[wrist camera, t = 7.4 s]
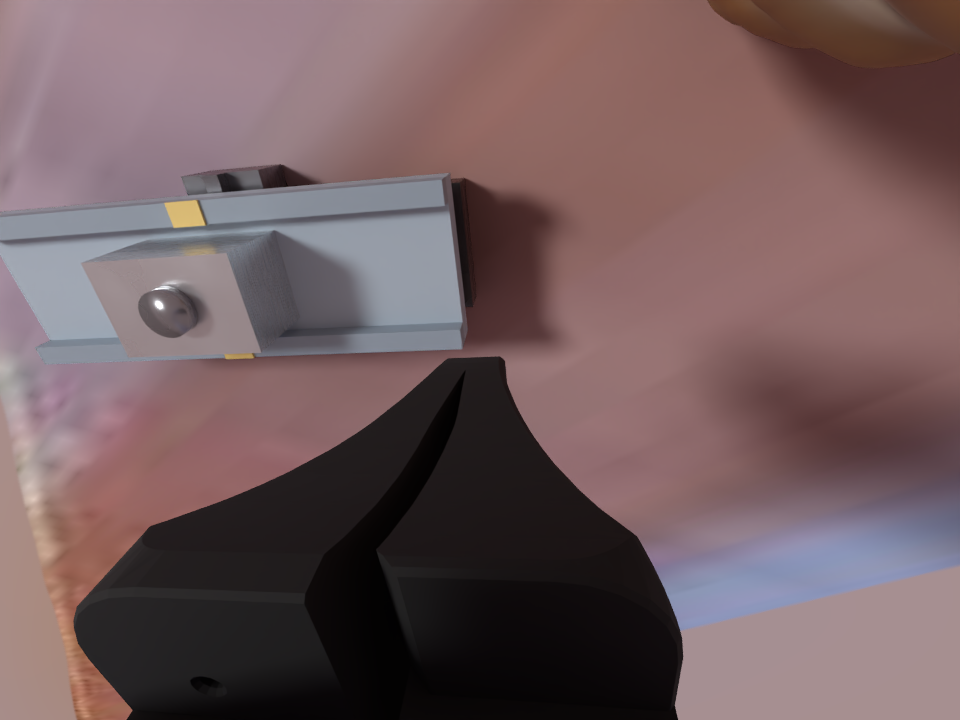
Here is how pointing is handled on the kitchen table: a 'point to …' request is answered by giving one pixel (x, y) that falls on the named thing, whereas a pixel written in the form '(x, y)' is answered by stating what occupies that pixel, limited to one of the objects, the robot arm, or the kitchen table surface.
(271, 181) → the stand
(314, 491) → the robot arm
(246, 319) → the block
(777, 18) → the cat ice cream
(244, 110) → the kitchen table surface
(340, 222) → the beam
